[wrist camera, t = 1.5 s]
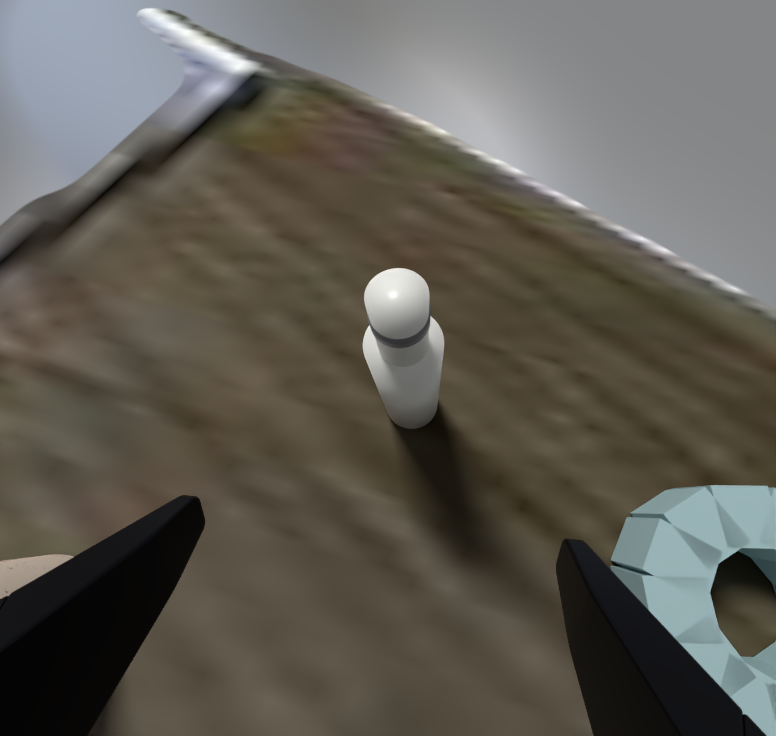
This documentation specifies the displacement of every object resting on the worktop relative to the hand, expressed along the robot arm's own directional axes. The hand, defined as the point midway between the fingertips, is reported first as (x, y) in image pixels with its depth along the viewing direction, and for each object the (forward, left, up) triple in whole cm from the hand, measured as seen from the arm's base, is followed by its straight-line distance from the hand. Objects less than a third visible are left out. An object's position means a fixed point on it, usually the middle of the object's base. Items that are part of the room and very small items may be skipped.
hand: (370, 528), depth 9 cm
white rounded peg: (+6, +3, -12) cm, 14 cm away
